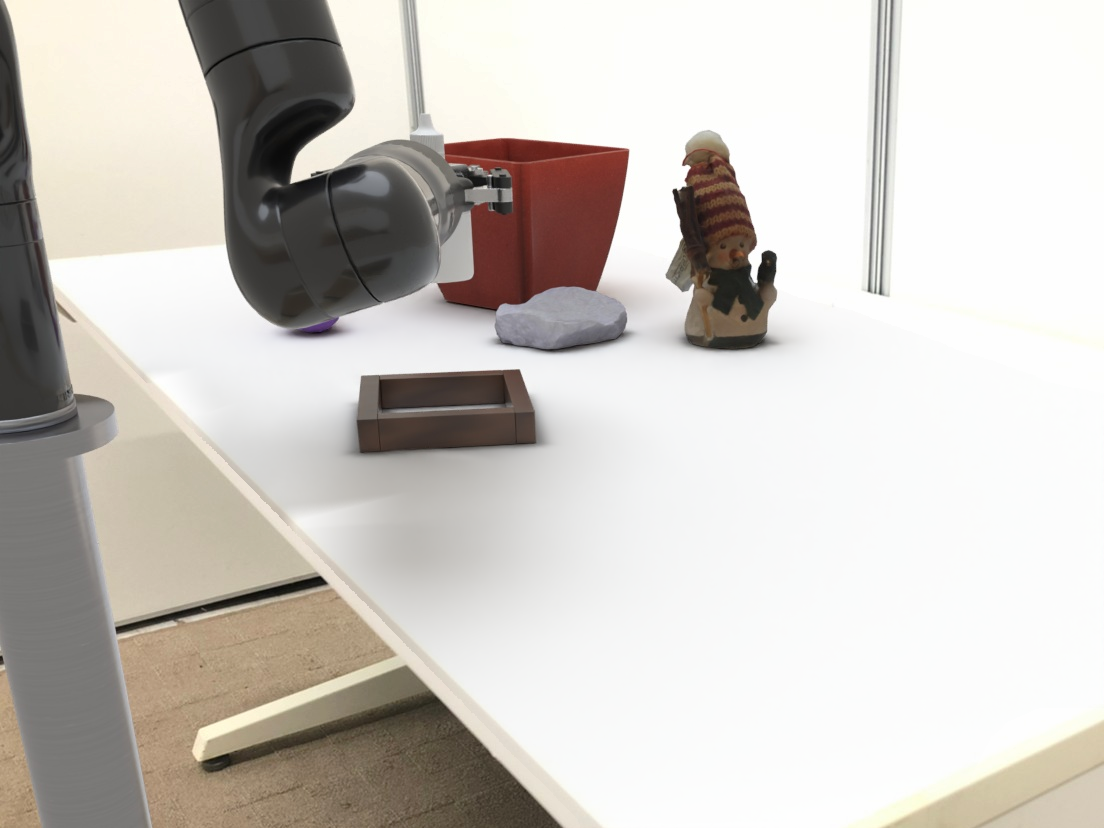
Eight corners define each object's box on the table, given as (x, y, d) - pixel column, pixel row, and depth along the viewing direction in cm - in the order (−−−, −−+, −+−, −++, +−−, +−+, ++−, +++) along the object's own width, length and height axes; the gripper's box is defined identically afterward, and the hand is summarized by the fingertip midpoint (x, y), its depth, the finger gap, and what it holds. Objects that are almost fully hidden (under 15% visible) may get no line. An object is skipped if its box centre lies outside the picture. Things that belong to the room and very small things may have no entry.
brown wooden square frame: (359, 452, 94) (356, 419, 93) (363, 404, 105) (360, 375, 104) (536, 442, 97) (534, 411, 96) (521, 397, 108) (519, 368, 107)
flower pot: (529, 325, 134) (522, 160, 128) (399, 303, 143) (386, 147, 137) (635, 297, 149) (634, 147, 143) (512, 278, 158) (505, 137, 152)
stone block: (634, 348, 133) (559, 317, 136) (640, 305, 130) (563, 275, 134) (565, 376, 123) (486, 342, 127) (570, 330, 121) (489, 297, 125)
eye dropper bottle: (409, 273, 99) (397, 111, 94) (479, 276, 98) (471, 113, 94) (390, 283, 95) (377, 114, 90) (464, 286, 94) (454, 116, 90)
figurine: (632, 345, 127) (629, 135, 119) (671, 320, 138) (671, 127, 130) (762, 356, 124) (767, 141, 116) (791, 330, 135) (798, 132, 127)
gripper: (505, 146, 80) (527, 128, 95) (271, 142, 79) (333, 125, 94) (510, 266, 83) (531, 230, 98) (285, 264, 82) (342, 227, 97)
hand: (434, 178), depth 96 cm, fingers closed on eye dropper bottle, 5 cm apart
